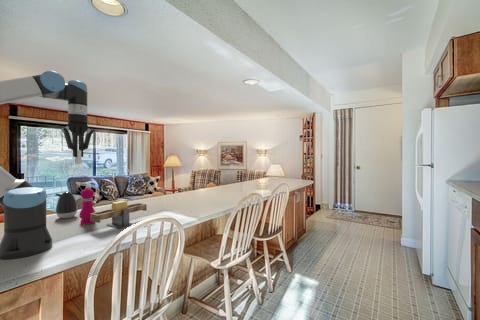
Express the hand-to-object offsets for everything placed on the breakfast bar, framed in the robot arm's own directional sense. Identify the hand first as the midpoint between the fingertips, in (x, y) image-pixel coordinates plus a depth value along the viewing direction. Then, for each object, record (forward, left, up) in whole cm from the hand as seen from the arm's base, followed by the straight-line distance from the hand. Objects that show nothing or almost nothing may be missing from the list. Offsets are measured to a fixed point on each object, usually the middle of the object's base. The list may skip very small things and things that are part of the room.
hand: (78, 163), depth 107 cm
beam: (+16, -8, -27) cm, 32 cm away
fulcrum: (+16, -8, -32) cm, 37 cm away
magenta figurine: (+9, +11, -33) cm, 36 cm away
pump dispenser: (+8, +33, -33) cm, 47 cm away
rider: (+16, -8, -25) cm, 30 cm away
